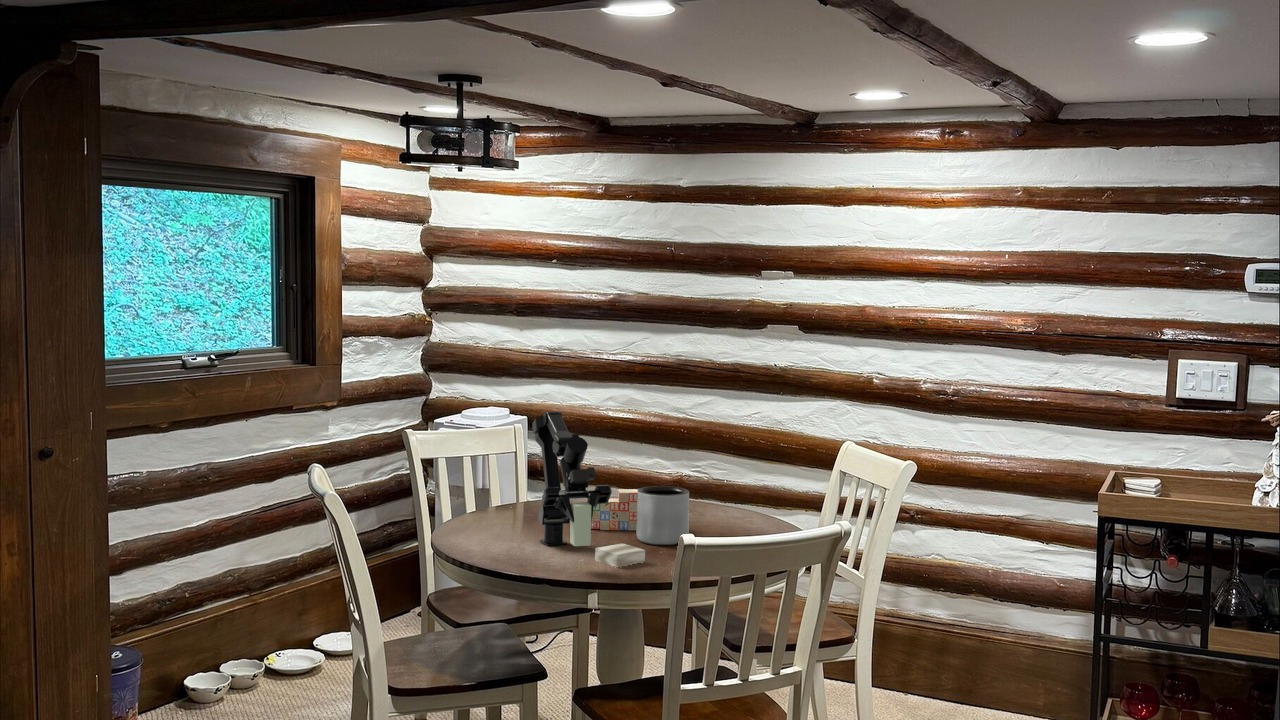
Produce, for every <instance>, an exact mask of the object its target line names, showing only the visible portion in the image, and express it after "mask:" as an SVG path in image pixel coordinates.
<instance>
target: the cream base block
mask: <svg viewBox="0 0 1280 720" xmlns="http://www.w3.org/2000/svg"><path fill="white" fill-rule="evenodd" d="M594 550H595V553H594V561H595V560H596V561H595V562H597V561H599V562H598V563H600V562H602V563H601V564H603V563H605V565H606V564H609V565H611V566H610V567H613V566H615V567H614V568H616V567H620V568H622V567H621V566H625V567H627V566H626V565H631V566H633V565H632V564H636V565H638V564H637V563H641V564H643V563H642V562H645V563H646V550H645V549H642V548H640V547H636V546H633V545H629V544H627V543H623V542H622V543H617V544H612V545H606V546H605V545H604V546H599V547H595V548H594ZM609 565H608V566H609Z"/></svg>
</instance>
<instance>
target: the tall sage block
mask: <svg viewBox="0 0 1280 720" xmlns="http://www.w3.org/2000/svg"><path fill="white" fill-rule="evenodd" d="M587 502H588V501H586V502H585V501H584V502H570V504H571V508H572V511H573V515H574V522H571V520H570V522H569V524H570V525H569V526H570V527H569V528H570V532H569V535H570V537H569V543H570V544H571V545H572V546H574V547H585V546H588V547H589V546H591V545H592V544H591V543H592V530H591V505H590V504H589V503H587Z"/></svg>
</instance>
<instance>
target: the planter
mask: <svg viewBox="0 0 1280 720" xmlns="http://www.w3.org/2000/svg"><path fill="white" fill-rule="evenodd" d="M637 489H638V497H637V530H635V531H636V534H635V535H636V539H637V540H639V541H640V542H641V543H644V544H647V545H648V544H649V545H653V546H654V545H655V546H674V545H675V544H676V545H678V544H677V543H678V540H679V537H680V535H681V534H686V533H689V534H690V532H689V531H690V525H689V523H690V517H689V516H690V515H689V513H690V491H689V490H688V489H686V488H684V487H679V486H671V485H653V486H645V487H640V488H637Z"/></svg>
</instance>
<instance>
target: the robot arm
mask: <svg viewBox="0 0 1280 720" xmlns="http://www.w3.org/2000/svg"><path fill="white" fill-rule="evenodd" d="M562 415H563V414H562V412H559V411H547V412H543V414H542V415H540V416H537V417H535V419H534V420H533V422H532V425H531V427H532V428H531V430H532V433H533V434H534V440H535V441H536V443H537V444H538V445H539V446H540V448H541V455H542V456H541V458H542V465H543V475H544V486H545V487H544V491H543V492H542V496H541V497H542V498H541V504H540V508H539V511H538V515H537V516H538V517H537V519H538V523H539V524H540V525H541V526H543V529H544V531H543V539H540V540H539V542H540V543H542V544H543V545H544V546H547V547H551V546H552V547H553V546H561V545H567V544H568V542H567V541H565V540H564V524H567V525H568V524H570V520H571V522H574V515H573V511H572V508H571V500H578V499H580V500H581V499H582V500H583V499H586V500H587V501H586V502H587V503H589V504H590V505H591V521H592V515H593V509H594V506H597V504H606V503H608V501H609V498H611V495H612V486H610V485H609V484H597V485H595V488H594V489H593V490H588V488H589V482H590V481H594V480H595V479H596V469H595V467H594V466H593V467H592V466H591V467H588V468H586V469H585V468H584V469H583V468H582V463H583V461H584V458H585V456H586V453H587V450H588V447H589V446H588V445H589V443H588V442H587V441H586V440H585V439H584V438H583V437H580V436H579V435H580V434H579V433H573V432H569V430H568V427H567V426H566V424H565V422H564V420H563V417H562ZM558 458H560V460H559V459H558ZM559 465H560V469H559ZM560 471H561V477H562V480H563V482H562V485H563V486H562V487H564V489H562V488H561V478H560Z"/></svg>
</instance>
